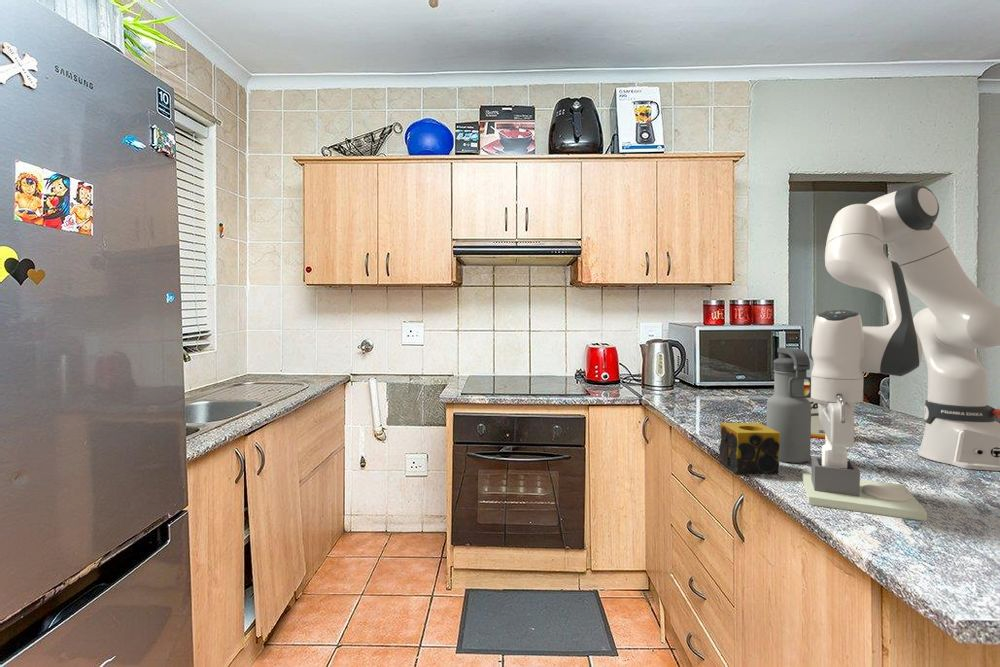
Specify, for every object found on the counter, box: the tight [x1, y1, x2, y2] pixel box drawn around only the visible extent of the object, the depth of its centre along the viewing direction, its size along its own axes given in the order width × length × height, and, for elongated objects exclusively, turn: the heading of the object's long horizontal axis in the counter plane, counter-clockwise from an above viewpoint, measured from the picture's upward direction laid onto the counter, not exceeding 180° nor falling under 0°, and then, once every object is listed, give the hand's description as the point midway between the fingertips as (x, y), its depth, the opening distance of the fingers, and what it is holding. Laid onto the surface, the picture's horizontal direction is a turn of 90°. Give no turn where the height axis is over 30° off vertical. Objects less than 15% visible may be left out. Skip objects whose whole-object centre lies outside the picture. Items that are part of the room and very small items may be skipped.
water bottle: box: [766, 347, 812, 464], centre depth 128 cm, size 10×10×28 cm
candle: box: [718, 422, 780, 475], centre depth 121 cm, size 10×10×10 cm
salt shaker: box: [821, 435, 848, 469], centre depth 103 cm, size 4×4×10 cm
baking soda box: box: [804, 381, 826, 440], centre depth 150 cm, size 10×6×16 cm
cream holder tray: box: [802, 456, 928, 522], centre depth 101 cm, size 18×16×6 cm
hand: (835, 458), depth 103 cm, fingers closed on salt shaker, 4 cm apart
